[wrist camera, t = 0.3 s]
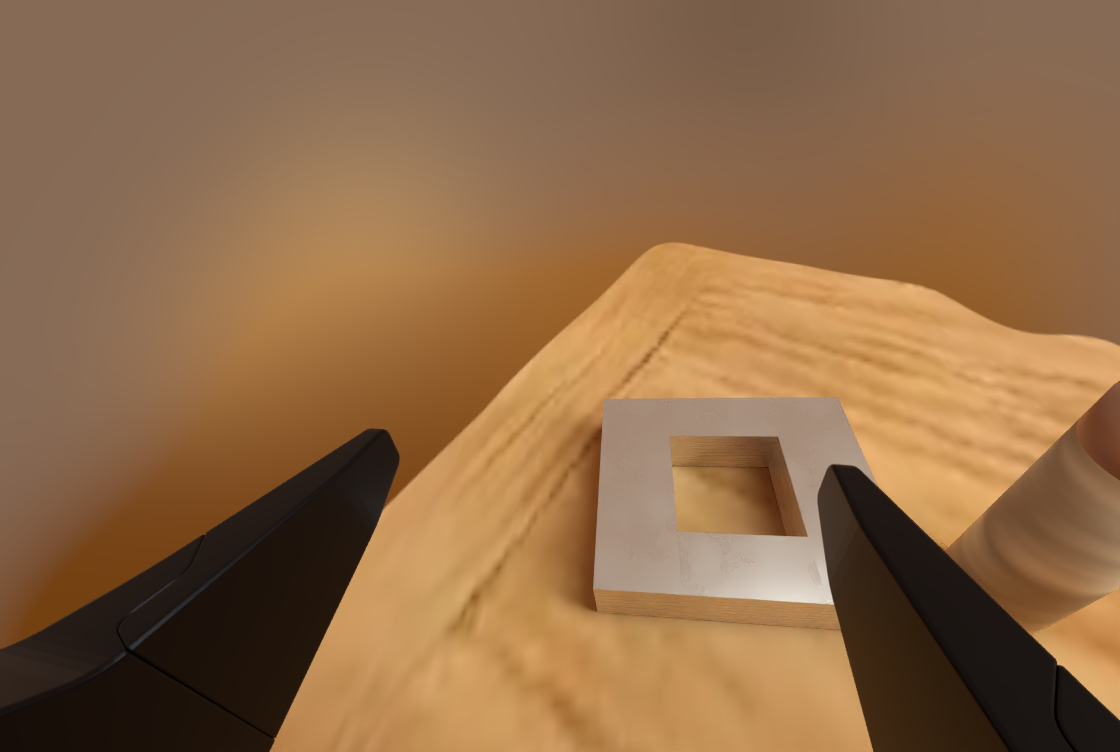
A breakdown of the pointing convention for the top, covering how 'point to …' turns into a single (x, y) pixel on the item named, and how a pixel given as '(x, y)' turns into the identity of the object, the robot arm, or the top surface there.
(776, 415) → the square hole block
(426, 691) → the top surface
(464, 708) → the top surface
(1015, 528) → the beech pin
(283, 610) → the robot arm
